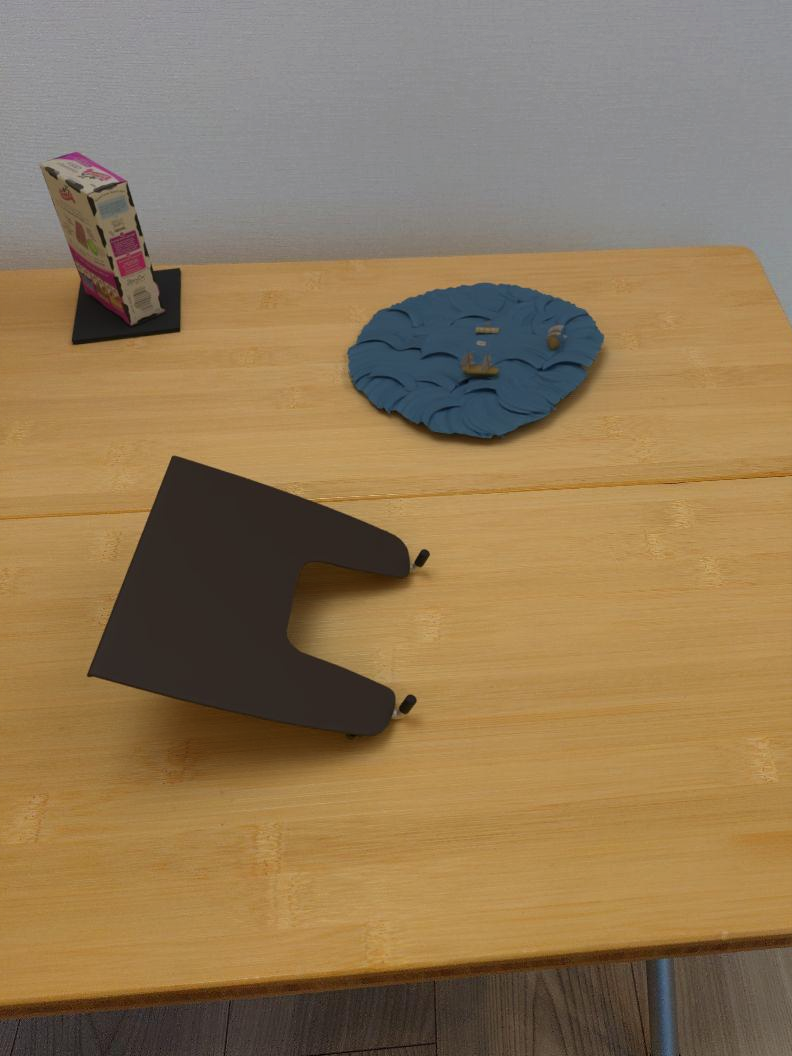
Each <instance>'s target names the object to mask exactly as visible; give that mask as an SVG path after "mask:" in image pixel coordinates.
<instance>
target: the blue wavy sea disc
mask: <svg viewBox="0 0 792 1056" xmlns="http://www.w3.org/2000/svg"><path fill="white" fill-rule="evenodd" d="M604 340H605V334H604V333H602V331H601V330H600V329H599V327H598V326H597V321H596V320H594V318H593V317H592V316H591V315H590V314H589V312H588V311H587V309H584V308H581V307H578V306H577V305H576V303H572V302H570V300H564V299H563V298H561V297H559V296H558V297H555V296H553V295H551V294H546V293H543V292H540V291H538V290H537V289H532V288H530V287H522V286H520V285H517V284H511V283H509V284H506V283H501V282H500V283H499V284H495V283H491V282H477V283H473V284H472V285H471V284H469V285H467V284H461V285H459V286H456V287H454V286H450V287H446V288H435V289H433V290H427V291H426V292H424V293H422V294H418V295H416V296H410V297H407V298H405V299H404V300H402V301H401V302H397V303H395V304H391V306H389V307H385V308H382V309H379V310H378V311H376V313H374V314H373V315H372V318H371V319H370V320H369V322H368V323H367V324H365V325H364V326H363V327H362V329H361V331H360V334H358V335H357V336H356V342H355V344H353V345H351V346H350V347H348V348H347V357H348V363H347V367H348V371H349V377H353V378H352V381H351V383H352V384H353V385H354V386H355V387H356V389H357V390H358V391H359V392H363V393H364V394H365V396H366V397H367V399H368V400H369V401H370V402H371V403H372V404H373V405H374V407H377V408H378V410H382V409H383V408H384V409H385V411H386V413H387V415H390V414H391V411H396V412H397V413H399V414H401V415H402V416H403V417H404V418H406V419H408V420H409V421H410V422H412V423H415V424H417V425H419V424H420V423H421V422H422V423H423V425H425V426H426V427H427V428H429V430H430V431H431V432H436V433H444V434H447V435H452V434H455V433H457V434H461V435H467V436H472V437H478V438H481V439H484V438H487V439H492V437H493V436H494V435H495V436H497V437H500V438H502V439H503V438H505V436H504V435H505V434H507V433H509V432H513V431H515V430H517V428H519V427H520V426H524V425H526V424H529V423H532V422H536V421H538V420H543V419H544V418H545V417H548V416H549V415H550V412H551V411H556V410H558V409H559V407H554V406H555V405H556V404H557V405H558V403H559V402H560V401H561V400H565V398H566V397H568V395H569V394H571V393H572V392H573V391H575V390H576V389H577V388H578V387H579V385H581V384H582V383H583V382H584V380H585V379H586V377H587V375H588V374H589V372H588V371H586V369H584V367H587V368H590V367H591V366H592V364H593V362H595V361H596V360H595V359H597V355H598V354H599V352H600V351H601V349H602V346H603V344H604ZM583 366H584V367H583Z"/></svg>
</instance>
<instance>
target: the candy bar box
mask: <svg viewBox="0 0 792 1056" xmlns="http://www.w3.org/2000/svg"><path fill="white" fill-rule="evenodd" d="M38 167H39V168H40V171H41V173H42V176H43V179H44V182H45V184H46V186H47V190H48V193H49V195H50V198H51V201H52V204H53V207H54V210H55V212H56V215H57V218H58V221H59V223H60V226H61V229H62V232H63V234H64V237H65V240H66V243H67V245H68V248H69V251H70V254H71V257H72V260H73V262H74V265H75V269H76V270H77V273H78V276H79V278H80V281H82V284H83V287H84V290H85V292H86V293H87V294H88V295H89V296H91V297H92V298H93V299H95V300H96V301H98V302H99V303H100V304H102V305H103V306H105V307H106V308H107V309H109V310H110V311H112V312H113V313H114V314H116V315H117V316H118V317H120V318H121V319H122V320H124V321H125V322H126V323H128V324H129V325H131V326H133V325H136V324H138V323H141V322H143V321H145V320H148V319H150V318H153V317H155V316H158V315H160V314H162V313H164V312H165V311H166V310H165V307H164V304H163V301H162V297H161V294H160V291H159V288H158V284H157V281H156V277H155V274H154V271H155V270H154V268H153V265H152V260H151V257H150V255H149V251H148V247H147V244H146V241H145V237H144V234H143V230H142V227H141V222H140V220H139V217H138V214H137V209H136V206H135V203H134V199H133V197H132V193H131V190H130V187H129V183H128V180H126V179H125V178H123V177H122V176H119V175H118V174H116V173H115V172H113V171H111V170H110V169H108V168H106V167H105V166H103V165H101V164H99V163H97V162H96V161H94V160H92V159H90V158H89V157H87V156H86V155H84V154H82V153H81V152H79V151H74V152H71V153H70V152H69V153H67V154H63V155H60V156H58V157H55V158H52V159H48V160H45V161H42V162H39V163H38Z"/></svg>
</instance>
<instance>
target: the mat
mask: <svg viewBox="0 0 792 1056" xmlns="http://www.w3.org/2000/svg"><path fill="white" fill-rule="evenodd" d="M153 271H154V274H155V277H156V281H157V284H158V288H159V291H160V294H161V297H162V301H163V304H164V307H165V310H166V311H165V312H164V313H162V314H160V315H158V316H155V317H153V318H150V319H148V320H145V321H143V322H141V323H138V324H136V325H133V326H131V325H129V324H128V323H126V322H125V321H124V320H122V319H121V318H120V317H118V316H117V315H116V314H114V313H113V312H112V311H110V310H109V309H107V308H106V307H105V306H103V305H102V304H100V303H99V302H98V301H96V300H95V299H93V298H92V297H91V296H89V295H88V294H87V293H86V292H85V290H84V287H83V284H82V281H81V280H80V281H79V282H80V283H79V288H78V294H77V300H76V301H77V302H76V308H75V315H74V322H73V328H72V334H71V344H72V345H82V344H83V345H84V344H90V343H98V342H99V343H100V342H105V341H106V342H107V341H115V340H122V339H129V338H132V339H133V338H138V337H146V336H154V335H156V336H157V335H164V334H172V333H179V332H181V299H182V298H181V297H182V296H181V295H182V294H181V293H182V289H181V288H182V271H181V268H180V267H176V268H175V267H174V268H165V269H157V270H153Z"/></svg>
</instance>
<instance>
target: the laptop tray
mask: <svg viewBox="0 0 792 1056" xmlns="http://www.w3.org/2000/svg"><path fill="white" fill-rule="evenodd" d="M165 470H166V471H165V473H164V475H163V478H162V481H161V484H160V486H159V489H158V491H157V494H156V496H155V498H154V500H153V501H154V502H153V504H152V506H151V509H150V511H149V514H148V516H147V519H146V522H145V524H144V527H143V529H142V532H141V535H140V537H139V540H138V541H137V544H136V547H135V550H134V552H133V555H132V557H131V560H130V562H129V564H128V568H127V570H126V573H125V576H124V578H123V581H122V583H121V586H120V588H119V591H118V593H117V596H116V599H115V602H114V604H113V606H112V608H111V611H110V614H109V617H108V618H107V619H108V620H107V621H106V624H105V627H104V630H103V632H102V634H101V637H100V640H99V643H98V645H97V647H96V650H95V652H94V655H93V658H92V661H91V663H90V665H89V669H88V671H87V674H86V677H87V678H96V679H100V680H104V681H108V682H111V683H115V684H118V685H121V686H126V687H129V688H132V689H136V690H139V691H143V692H148V693H151V694H154V695H159V696H163V697H166V698H170V699H174V700H178V701H182V702H185V703H190V704H193V705H198V706H202V707H205V708H211V709H215V710H220V711H224V712H228V713H233V714H236V715H241V716H245V717H248V718H249V717H250V718H255V719H259V720H263V721H267V722H273V723H277V724H283V725H288V726H293V727H300V728H304V729H311V730H317V731H321V732H322V731H323V732H328V733H335V734H343V735H345V737H346V739H347V740H348V741H353V740H355V739H357V738H365V737H374V736H378V735H380V734H381V733H383V732H384V731H385V730H386V729H387V727H388V726H389V725H390V722H391V720H402V719H403V718H405V717H407V715H408V714H410V712H411V711H412V709H413V708H414V706H415V705H416V703H418V699H417V697H416V696H415V695H414V694H411V693H409V694H406V696H405V698H404V699H403V700H402V702H401V703H400V705H399V706H398V708H395V707H396V701H397V699H396V698H397V697H396V693H395V692H394V690H393V689H391V688H390V687H388V686H386V685H384V684H382V683H380V682H378V681H376V680H373V679H371V678H369V677H367V676H364V675H361V674H360V673H358V672H355V671H353V670H350V669H348V668H346V667H344V666H341V665H338V664H335V663H333V662H330V661H327V660H325V659H322V658H319V657H316V656H313V655H311V654H308V653H306V652H303V651H301V650H299V648H296V647H295V646H294V645H293V644H292V642H291V641H290V639H289V636H288V630H289V629H288V628H289V623H290V622H289V621H290V617H291V611H292V607H293V603H294V602H293V601H294V598H295V593H296V589H297V585H298V580H299V576H300V572H301V570H302V569H303V567H304V566H306V565H308V564H312V563H318V564H325V565H328V566H333V567H336V568H341V569H345V570H349V571H354V572H357V573H358V572H359V573H364V574H369V575H376V576H382V577H387V578H393V579H406V578H407V577H408V576H409V575H410V574H415V573H418V572H419V571H420V570H422V568H423V567H424V566H425V564H426V562H427V561H428V559H429V558H430V556H431V553H430V551H429V550H428V549H426V548H422V549H421V550H419V553H418V555H417V556H416V558H415V560H414V562H413V563H411V558H410V552H409V549H408V546H407V545H406V544H405V542H403V540H402V539H401V538H400V537H398V536H397V535H395V534H393V533H391V532H389V531H387V530H385V529H382V528H380V527H378V526H375V525H373V524H371V523H368V522H366V521H364V520H362V519H359V518H357V517H355V516H352V515H350V514H347V513H344V512H342V511H339V510H337V509H334V508H332V507H329V506H326V505H324V504H321V503H320V502H319V503H318V502H316V501H313V500H311V499H308V498H305V497H302V496H300V495H297V494H294V493H290V492H288V491H285V490H283V489H279V488H277V487H274V486H271V485H268V484H265V483H262V482H259V481H257V480H253V479H250V478H248V477H245V476H241V475H238V474H235V473H232V472H229V471H225V470H222V469H220V468H217V467H213V466H210V465H207V464H204V463H200V462H198V461H195V460H191V459H188V458H185V457H182V456H178V455H172V456H171V457H170V461H169V463H168V465H167V467H166V469H165Z"/></svg>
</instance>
